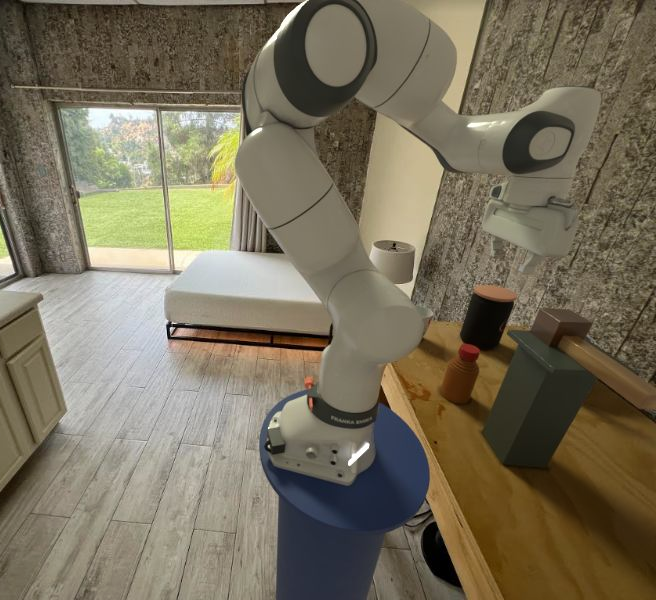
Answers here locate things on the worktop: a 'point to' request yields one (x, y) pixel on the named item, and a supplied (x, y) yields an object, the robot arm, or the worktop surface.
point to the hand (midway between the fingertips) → (508, 265)
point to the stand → (537, 401)
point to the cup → (425, 316)
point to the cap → (469, 352)
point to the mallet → (591, 354)
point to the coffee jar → (487, 316)
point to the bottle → (459, 380)
